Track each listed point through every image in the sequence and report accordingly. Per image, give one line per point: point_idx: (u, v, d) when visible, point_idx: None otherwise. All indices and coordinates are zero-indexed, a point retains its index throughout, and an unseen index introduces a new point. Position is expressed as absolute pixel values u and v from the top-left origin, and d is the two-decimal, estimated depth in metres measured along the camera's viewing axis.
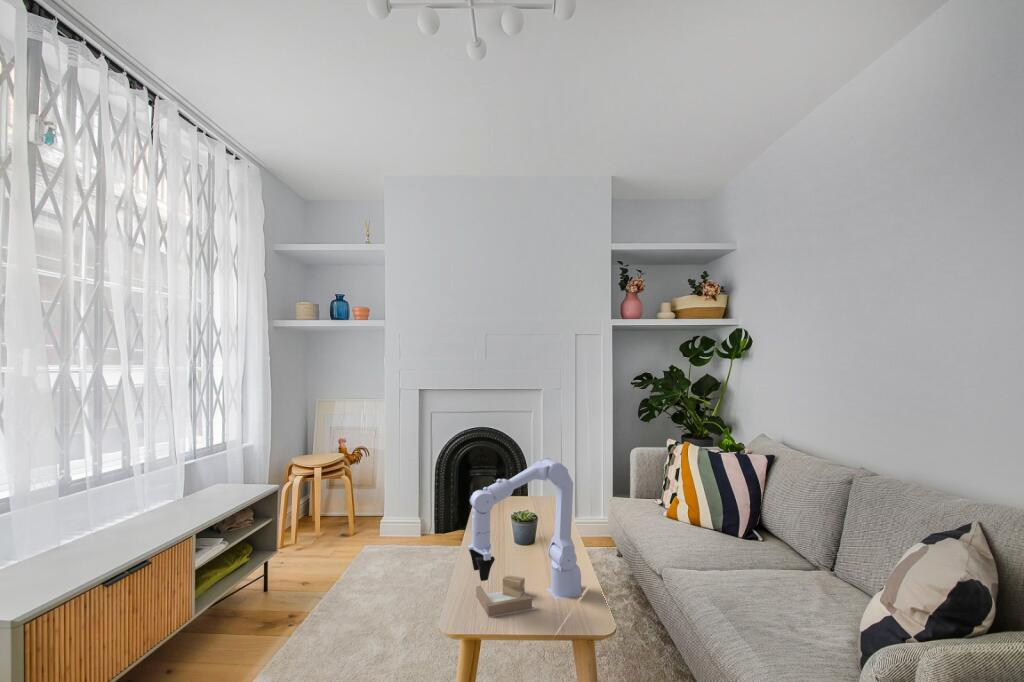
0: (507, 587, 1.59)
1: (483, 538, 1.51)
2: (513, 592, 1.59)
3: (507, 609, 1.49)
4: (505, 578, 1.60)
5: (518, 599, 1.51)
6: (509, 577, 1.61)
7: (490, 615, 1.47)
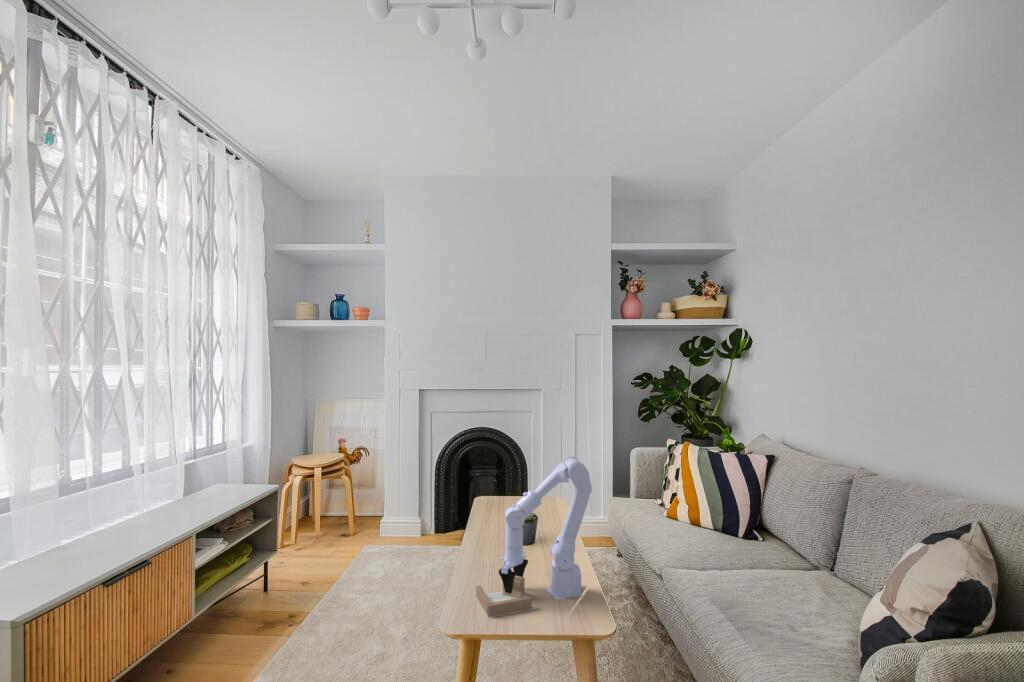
0: None
1: (509, 552, 1.59)
2: (513, 592, 1.59)
3: (507, 609, 1.49)
4: None
5: (518, 599, 1.51)
6: None
7: (490, 615, 1.47)
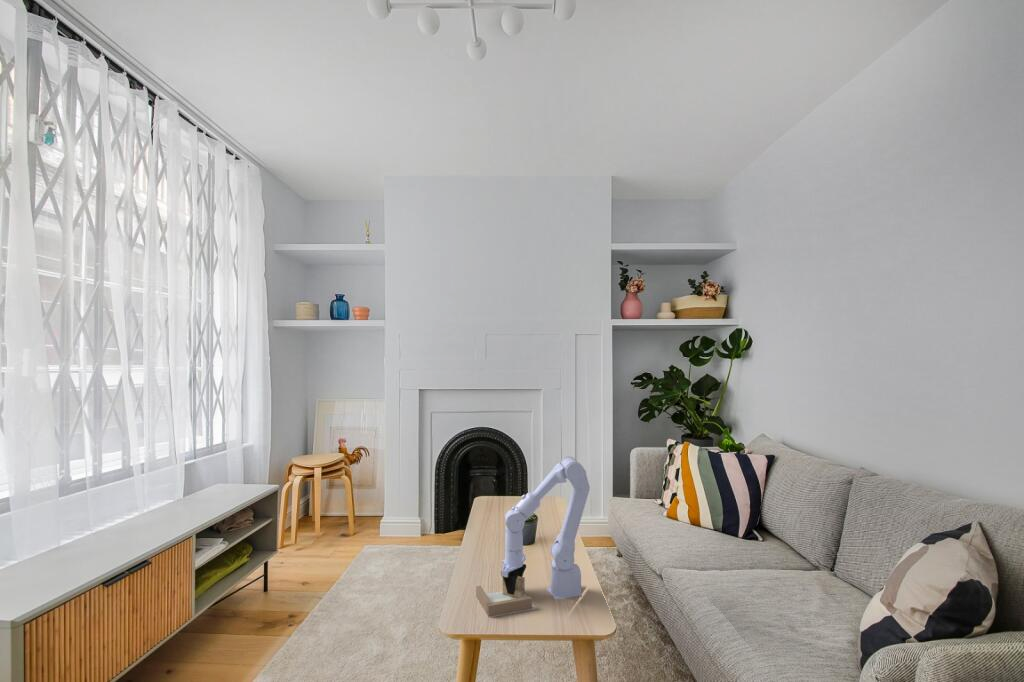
0: None
1: (509, 555, 1.58)
2: None
3: (507, 609, 1.49)
4: None
5: (518, 599, 1.51)
6: None
7: (490, 615, 1.47)
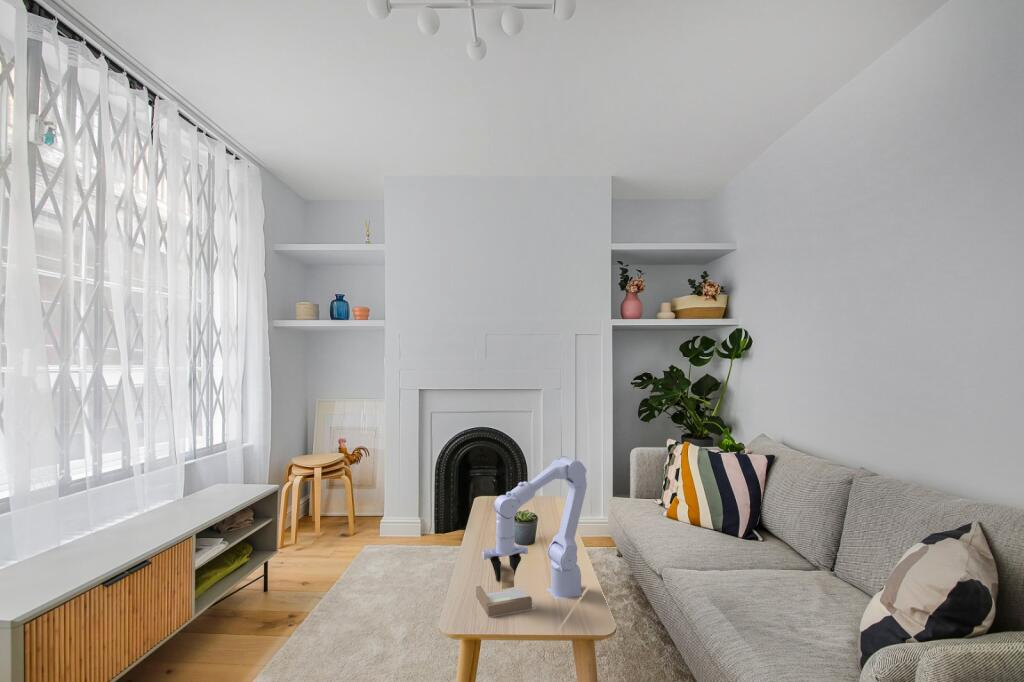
0: None
1: (496, 540, 1.53)
2: None
3: (507, 609, 1.49)
4: None
5: (518, 599, 1.51)
6: (502, 566, 1.55)
7: (490, 615, 1.47)
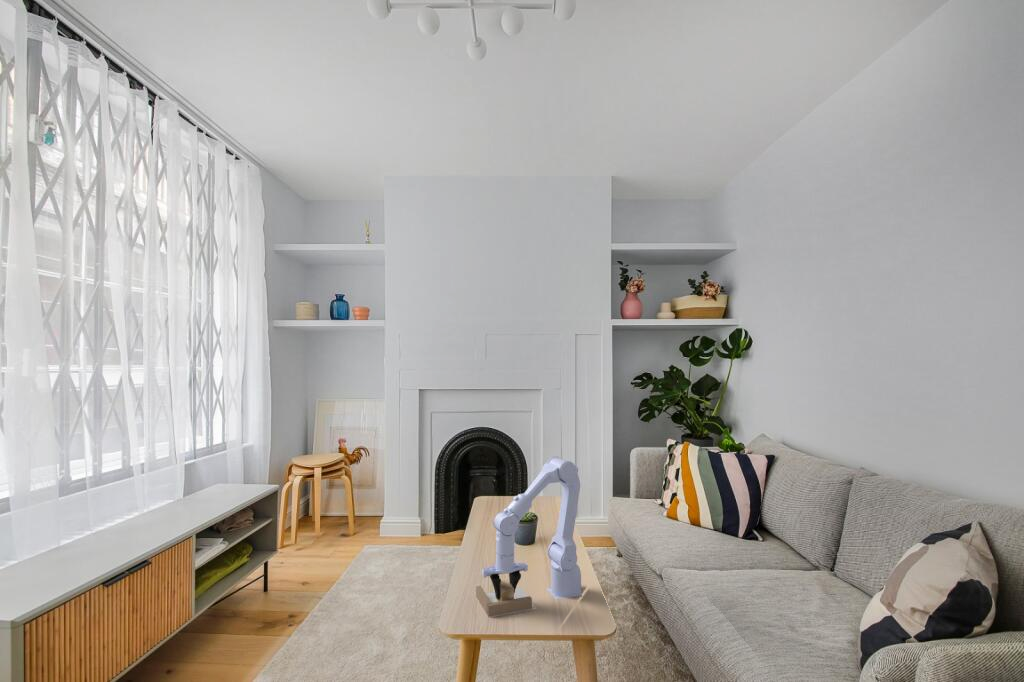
0: None
1: (496, 557, 1.53)
2: (499, 599, 1.53)
3: (507, 609, 1.49)
4: None
5: (518, 599, 1.51)
6: (502, 583, 1.55)
7: (490, 615, 1.47)
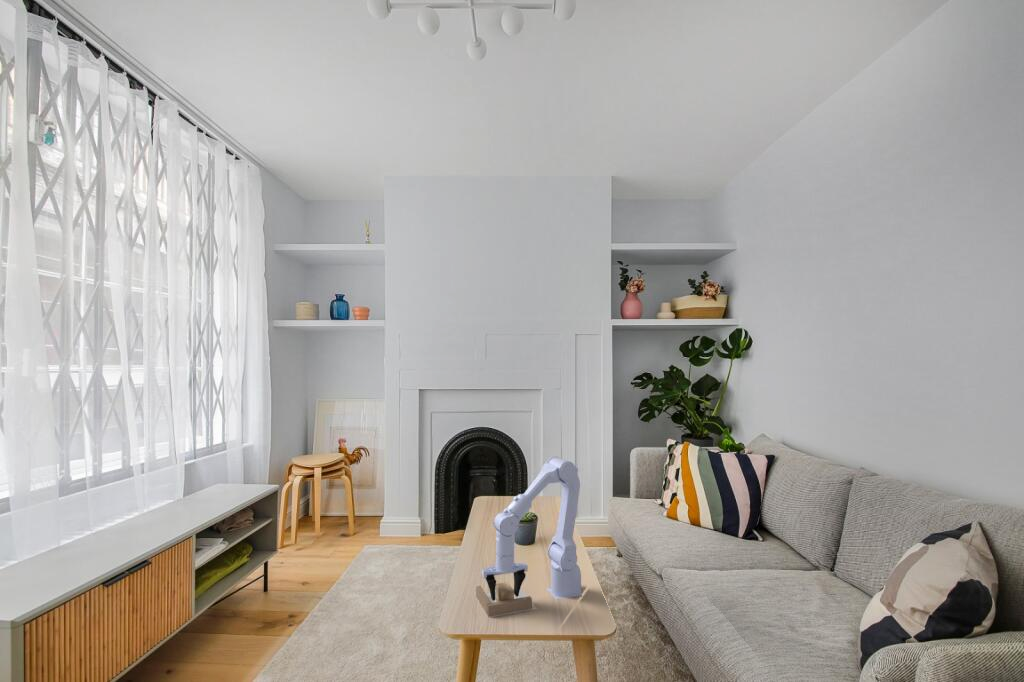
0: (497, 593, 1.55)
1: (496, 558, 1.53)
2: None
3: (507, 609, 1.49)
4: (498, 584, 1.56)
5: (518, 599, 1.51)
6: (502, 585, 1.55)
7: (490, 615, 1.47)
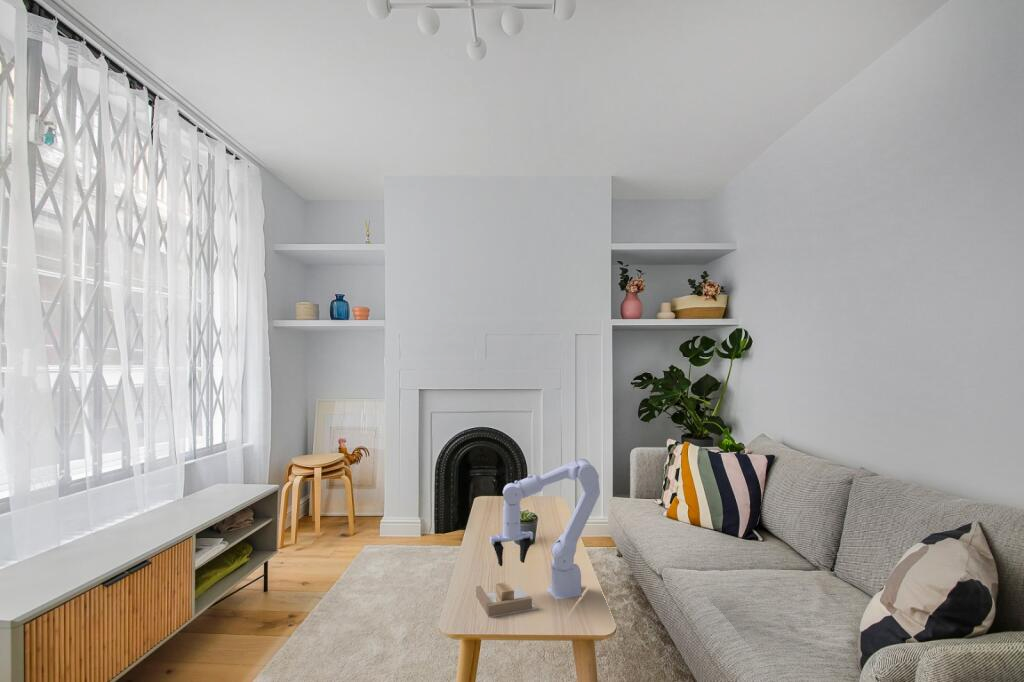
0: (497, 593, 1.55)
1: (503, 526, 1.61)
2: None
3: (507, 609, 1.49)
4: (498, 584, 1.56)
5: (518, 599, 1.51)
6: (502, 585, 1.55)
7: (490, 615, 1.47)
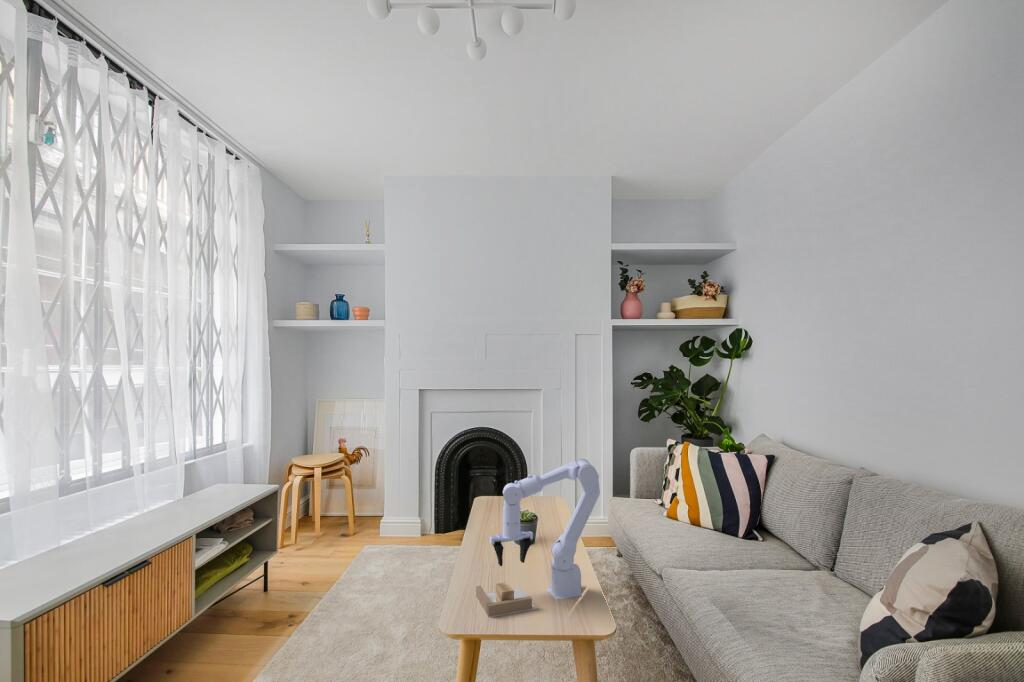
0: (497, 593, 1.55)
1: (503, 526, 1.61)
2: None
3: (507, 609, 1.49)
4: (498, 584, 1.56)
5: (518, 599, 1.51)
6: (502, 585, 1.55)
7: (490, 615, 1.47)
